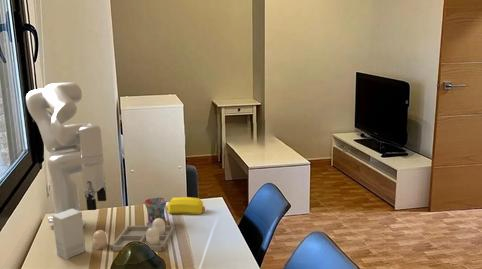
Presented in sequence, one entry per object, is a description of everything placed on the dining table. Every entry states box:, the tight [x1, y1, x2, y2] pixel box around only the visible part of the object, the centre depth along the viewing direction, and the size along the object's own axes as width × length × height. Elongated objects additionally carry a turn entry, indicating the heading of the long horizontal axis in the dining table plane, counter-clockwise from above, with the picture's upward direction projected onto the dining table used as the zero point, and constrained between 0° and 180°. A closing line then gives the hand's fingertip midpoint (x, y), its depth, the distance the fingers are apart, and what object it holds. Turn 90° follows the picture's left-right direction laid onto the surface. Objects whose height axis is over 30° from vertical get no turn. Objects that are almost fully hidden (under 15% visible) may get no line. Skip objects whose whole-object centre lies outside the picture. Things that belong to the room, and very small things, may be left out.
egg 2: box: [152, 218, 166, 235], centre depth 181 cm, size 5×5×7 cm
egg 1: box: [92, 229, 108, 251], centre depth 172 cm, size 5×5×7 cm
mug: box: [143, 197, 168, 226], centre depth 193 cm, size 12×9×11 cm
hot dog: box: [165, 196, 206, 215], centre depth 206 cm, size 18×7×8 cm
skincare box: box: [51, 209, 87, 260], centre depth 167 cm, size 8×7×16 cm
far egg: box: [146, 227, 160, 246], centre depth 172 cm, size 5×5×7 cm
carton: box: [110, 225, 176, 252], centre depth 177 cm, size 19×19×2 cm
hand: (97, 205), depth 169 cm, fingers open, 9 cm apart
